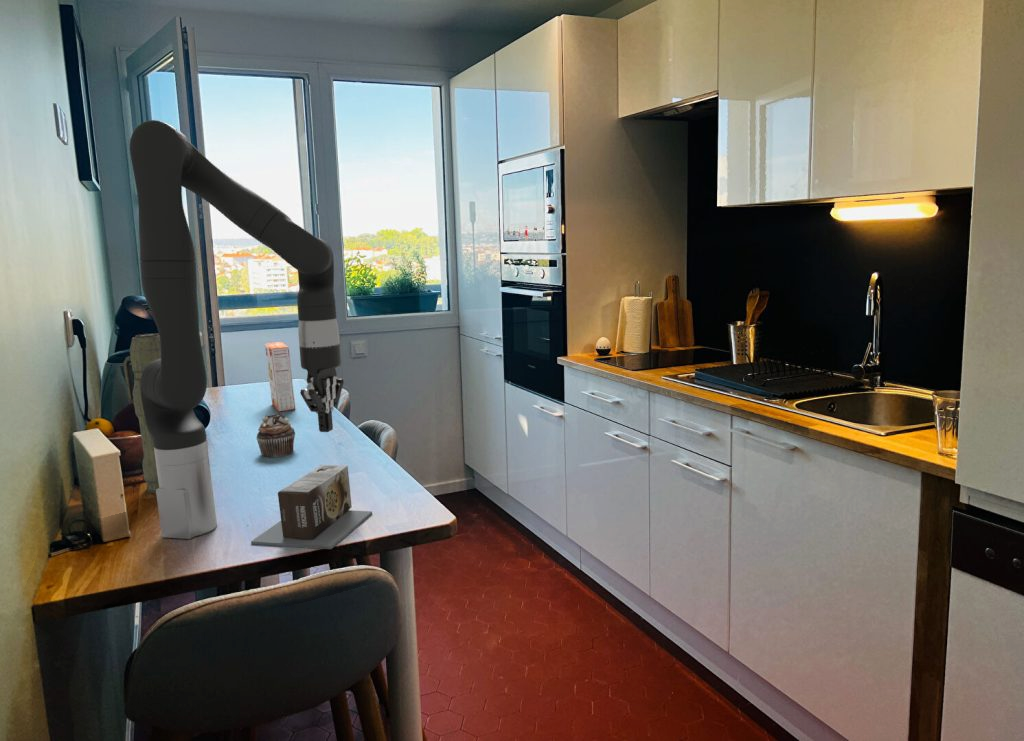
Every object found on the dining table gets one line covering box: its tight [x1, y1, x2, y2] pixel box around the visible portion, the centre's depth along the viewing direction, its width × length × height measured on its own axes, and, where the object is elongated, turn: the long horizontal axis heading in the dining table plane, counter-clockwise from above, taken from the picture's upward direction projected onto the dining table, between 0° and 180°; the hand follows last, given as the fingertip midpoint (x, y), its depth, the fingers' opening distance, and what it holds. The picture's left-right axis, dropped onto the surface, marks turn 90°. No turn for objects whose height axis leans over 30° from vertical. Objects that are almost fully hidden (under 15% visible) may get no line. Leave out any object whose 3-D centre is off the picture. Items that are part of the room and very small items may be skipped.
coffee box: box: [277, 464, 352, 540], centre depth 144 cm, size 9×6×16 cm
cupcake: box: [256, 412, 296, 458], centre depth 196 cm, size 10×10×10 cm
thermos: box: [122, 332, 161, 494], centre depth 170 cm, size 9×12×35 cm
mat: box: [250, 509, 373, 550], centre depth 144 cm, size 17×16×1 cm
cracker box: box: [264, 341, 296, 413], centre depth 248 cm, size 14×6×21 cm, turn 25°
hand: (326, 430), depth 148 cm, fingers closed
